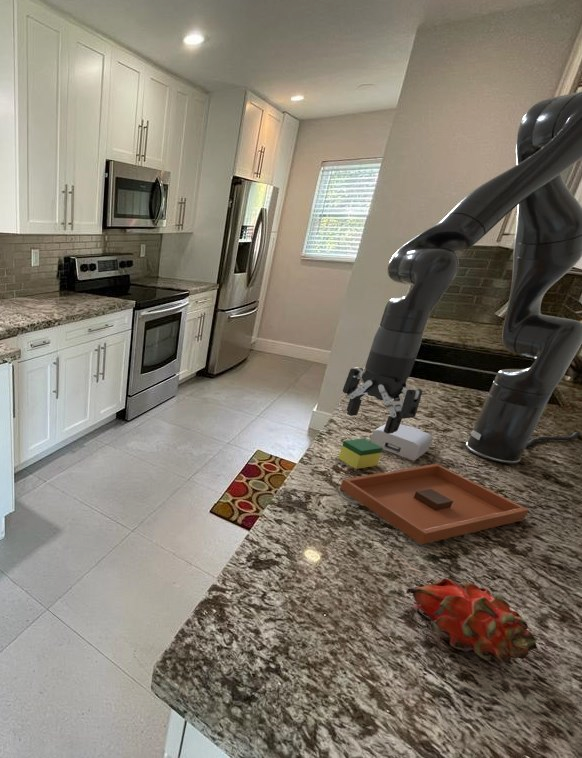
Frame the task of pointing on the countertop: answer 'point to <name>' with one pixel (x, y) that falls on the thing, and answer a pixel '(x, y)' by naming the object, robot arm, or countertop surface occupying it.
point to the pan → (422, 523)
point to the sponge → (360, 453)
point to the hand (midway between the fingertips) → (369, 423)
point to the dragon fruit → (474, 619)
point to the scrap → (433, 499)
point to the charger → (403, 441)
